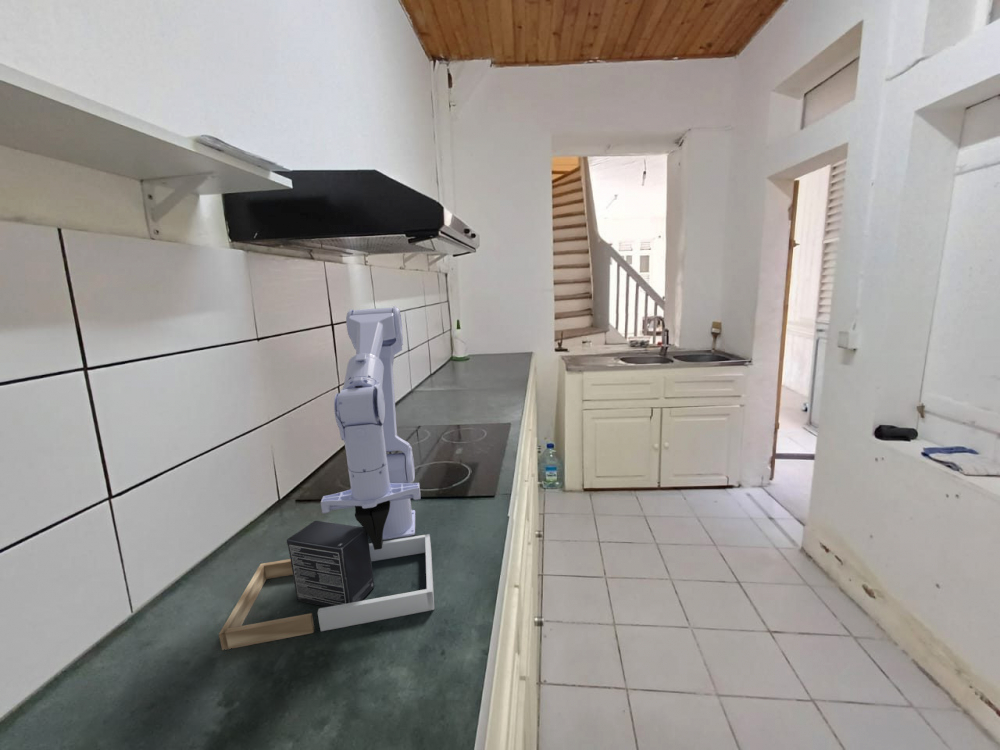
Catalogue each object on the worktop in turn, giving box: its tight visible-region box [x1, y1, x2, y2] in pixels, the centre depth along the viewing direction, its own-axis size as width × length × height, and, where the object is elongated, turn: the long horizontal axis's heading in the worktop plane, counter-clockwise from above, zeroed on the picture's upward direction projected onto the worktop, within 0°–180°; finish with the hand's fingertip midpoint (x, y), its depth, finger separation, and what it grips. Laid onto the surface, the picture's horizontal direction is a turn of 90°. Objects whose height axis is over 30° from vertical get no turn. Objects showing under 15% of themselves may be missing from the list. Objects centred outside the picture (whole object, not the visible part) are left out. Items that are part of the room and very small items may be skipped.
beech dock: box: [218, 558, 315, 651], centre depth 65 cm, size 16×12×2 cm
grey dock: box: [317, 533, 435, 632], centre depth 68 cm, size 16×16×3 cm
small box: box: [286, 520, 375, 608], centre depth 66 cm, size 11×6×10 cm, turn 71°
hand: (378, 545), depth 67 cm, fingers closed
